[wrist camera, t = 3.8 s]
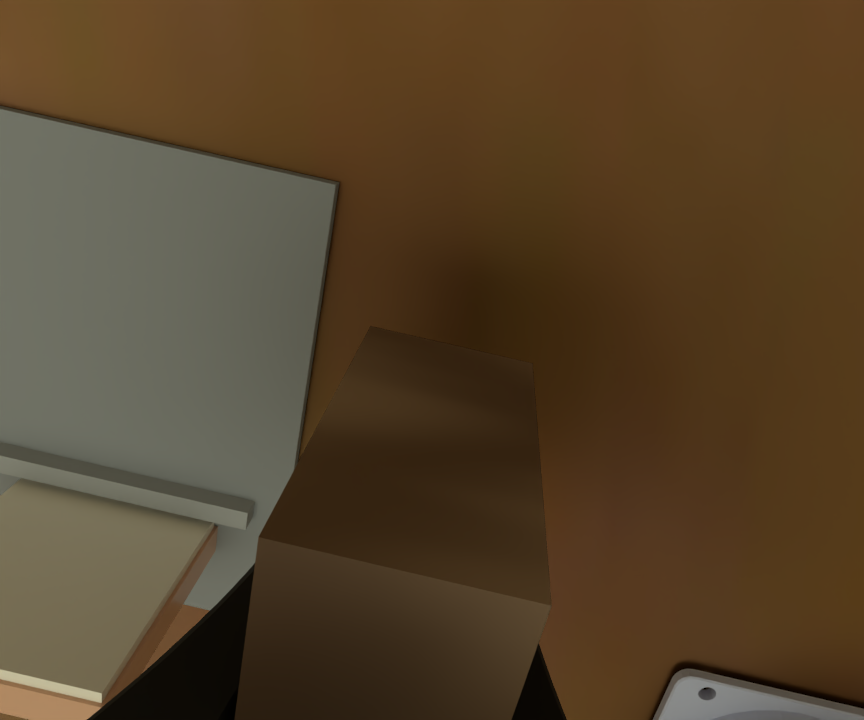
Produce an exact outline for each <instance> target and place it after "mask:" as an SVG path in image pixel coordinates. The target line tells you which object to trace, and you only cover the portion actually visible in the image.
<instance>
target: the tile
mask: <svg viewBox="0 0 864 720" xmlns="http://www.w3.org/2000/svg"><path fill="white" fill-rule="evenodd" d="M217 532H218V526H214V523H213V522H208V521H204V520H200V519H196V518H191V517H187V516H183V515H178V514H174V513H170V512H166V511H161V510H157V509H153V508H148V507H144V506H140V505H135V504H131V503H127V502H123V501H118V500H114V499H110V498H105V497H101V496H97V495H93V494H88V493H84V492H80V491H75V490H71V489H67V488H62V487H58V486H54V485H50V484H45V483H41V482H37V481H32V480H28V479H24V478H21V479H20V480H18V481H17V482H16V483H15V484H14V485H13V486H11V487H10V488H9V489H8V490H7V491H5V492H4V493H3V494H2V495H1V496H0V713H4V714H8V715H12V716H17V717H21V718H25V719H29V720H87V719H88V718H90V717H91V716H92V715H93V714H94V713H96V712H97V711H98V710H99V709H100V708H102V707H103V706H104V705H105V704H106V703H108V702H109V701H110V700H111V699H112V698H114V697H115V696H116V695H117V694H118V693H120V692H121V691H122V690H123V689H124V688H126V687H127V686H128V685H129V684H130V683H132V682H133V681H134V680H135V679H136V678H138V677H139V676H140V675H141V673H142V672H143V670H144V668H145V667H146V665H147V663H148V662H149V660H150V658H151V657H152V655H153V653H154V652H155V650H156V648H157V647H158V645H159V643H160V642H161V640H162V638H163V637H164V635H165V633H166V632H167V630H168V628H169V627H170V625H171V623H172V622H173V620H174V619H175V617H176V615H177V614H178V612H179V610H180V609H181V607H182V605H183V604H184V602H185V600H186V599H187V597H188V595H189V594H190V592H191V590H192V589H193V587H194V585H195V584H196V582H197V580H198V579H199V577H200V575H201V574H202V572H203V570H204V569H205V567H206V566H207V564H208V562H209V561H210V559H211V557H212V556H213V554H214V552H215V551H216V542H217Z"/></svg>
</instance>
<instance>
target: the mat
mask: <svg viewBox="0 0 864 720" xmlns="http://www.w3.org/2000/svg"><path fill="white" fill-rule="evenodd" d="M338 189H339V182H336V181H331V180H327V179H323V178H318V177H314V176H309V175H305V174H300V173H296V172H292V171H287V170H283V169H278V168H274V167H269V166H265V165H261V164H256V163H252V162H247V161H243V160H239V159H234V158H230V157H225V156H221V155H216V154H212V153H208V152H203V151H199V150H194V149H190V148H185V147H181V146H177V145H172V144H168V143H163V142H159V141H155V140H150V139H146V138H141V137H137V136H132V135H128V134H124V133H119V132H115V131H110V130H106V129H101V128H97V127H93V126H88V125H84V124H79V123H75V122H70V121H66V120H62V119H57V118H53V117H48V116H44V115H40V114H35V113H31V112H26V111H22V110H17V109H13V108H9V107H4V106H0V496H1V495H2V494H3V493H4V492H5V491H7V490H8V489H9V488H10V487H11V486H13V485H14V484H15V483H16V482H17V481H18V480H20V479H21V478H24V479H28V480H32V481H37V482H41V483H45V484H50V485H54V486H58V487H62V488H67V489H71V490H75V491H80V492H84V493H88V494H93V495H97V496H101V497H105V498H110V499H114V500H118V501H123V502H127V503H131V504H135V505H140V506H144V507H148V508H153V509H157V510H161V511H166V512H170V513H174V514H178V515H183V516H187V517H191V518H196V519H200V520H204V521H208V522H213V523H214V526H218V532H217V542H216V551H215V552H214V554H213V556H212V557H211V559H210V561H209V562H208V564H207V566H206V567H205V569H204V570H203V572H202V574H201V575H200V577H199V579H198V580H197V582H196V584H195V585H194V587H193V589H192V590H191V592H190V594H189V595H188V597H187V599H186V600H185V602H184V604H185V605H189V606H193V607H198V608H202V609H206V610H211V609H212V608H213V607H214V606H215V605H216V604H217V603H218V602H219V601H220V600H221V599H222V598H223V597H224V596H225V595H226V594H227V593H228V592H229V591H230V590H231V589H232V588H233V587H234V586H235V585H236V583H237V582H238V581H239V580H240V579H241V578H242V577H243V576H244V575H245V574H246V573H247V571H248V570H249V569H250V568H251V567H252V566H253V565H254V563H255V560H256V552H257V544H258V537H259V535H260V533H261V531H262V529H263V528H264V526H265V524H266V522H267V520H268V518H269V516H270V514H271V513H272V511H273V509H274V507H275V505H276V503H277V501H278V499H279V498H280V496H281V494H282V492H283V490H284V488H285V486H286V484H287V483H288V481H289V479H290V477H291V475H292V473H293V471H294V469H295V467H296V466H297V463H298V457H299V450H300V443H301V437H302V430H303V423H304V416H305V410H306V403H307V396H308V390H309V383H310V376H311V370H312V363H313V356H314V349H315V343H316V336H317V329H318V323H319V316H320V309H321V303H322V296H323V289H324V282H325V276H326V269H327V262H328V256H329V249H330V242H331V236H332V229H333V222H334V215H335V209H336V202H337V195H338Z"/></svg>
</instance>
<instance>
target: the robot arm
mask: <svg viewBox="0 0 864 720" xmlns="http://www.w3.org/2000/svg"><path fill="white" fill-rule="evenodd" d="M254 567H255V563H254V565H253V566H252V567H251V568H250V569H249V570H248V571H247V573H246V574H245V575H244V576H243V577H242V578H241V579H240V580H239V581H238V582H237V583H236V585H235V586H234V587H233V588H232V589H231V590H230V591H229V592H228V593H227V594H226V595H225V596H224V597H223V598H222V599H221V600H220V601H219V602H218V603H217V604H216V605H215V606H214V607H213V608H212V609H211V610H210V611H209V612H208V613H207V614H206V615H205V616H204V617H203V618H202V619H201V620H200V621H199V622H198V623H197V624H196V625H195V626H194V627H193V628H192V629H191V630H189V631H188V632H187V633H186V634H185V635H184V636H183V637H182V638H181V639H180V640H179V641H178V642H176V643H175V644H174V645H173V646H172V647H171V648H170V649H169V650H168V651H167V652H166V653H165V654H164V655H162V656H161V657H160V658H159V659H158V660H157V661H156V662H155V663H154V664H153V665H151V666H150V667H149V668H148V669H147V670H146V671H145V672H143V673H142V674H141V675H140V676H139V677H138V678H136V679H135V680H134V681H133V682H132V683H130V684H129V685H128V686H127V687H126V688H124V689H123V690H122V691H121V692H120V693H118V694H117V695H116V696H115V697H114V698H112V699H111V700H110V701H109V702H108V703H106V704H105V705H104V706H103V707H102V708H100V709H99V710H98V711H97V712H96V713H94V714H93V715H92V716H91V717H90V718H88V719H87V720H235V712H236V704H237V697H238V689H239V682H240V674H241V666H242V659H243V651H244V643H245V636H246V628H247V621H248V613H249V605H250V598H251V590H252V582H253V575H254ZM705 687H709V689H706V690H701V689H703V688H705ZM512 720H567V719H566V717H565V714H564V712H563V709H562V707H561V704H560V702H559V699H558V696H557V694H556V691H555V688H554V686H553V683H552V680H551V678H550V675H549V672H548V669H547V666H546V663H545V661H544V658H543V655H542V652H541V649H540V646H539V643H538V646H537V649H536V652H535V654H534V657H533V660H532V663H531V666H530V669H529V671H528V674H527V677H526V680H525V683H524V686H523V688H522V691H521V694H520V697H519V700H518V703H517V705H516V708H515V711H514V714H513V717H512ZM653 720H864V709H862V708H858V707H854V706H850V705H845V704H841V703H837V702H832V701H828V700H824V699H820V698H815V697H811V696H807V695H803V694H798V693H794V692H790V691H785V690H781V689H777V688H773V687H768V686H764V685H760V684H755V683H751V682H747V681H743V680H738V679H734V678H730V677H725V676H721V675H717V674H713V673H708V672H704V671H700V670H695V669H683V670H680V671H678V672H677V673H675V675H674V676H673V677H672V679H671V681H670V684H669V686H668V688H667V690H666V692H665V694H664V696H663V699H662V701H661V703H660V705H659V707H658V709H657V712H656V714H655V716H654V718H653Z"/></svg>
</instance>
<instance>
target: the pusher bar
mask: <svg viewBox="0 0 864 720" xmlns="http://www.w3.org/2000/svg"><path fill="white" fill-rule="evenodd" d="M551 606H552V605H551V592H550V579H549V566H548V554H547V541H546V528H545V515H544V503H543V490H542V477H541V465H540V452H539V439H538V426H537V414H536V401H535V388H534V376H533V363H529V362H525V361H520V360H516V359H512V358H507V357H503V356H499V355H494V354H490V353H486V352H481V351H477V350H472V349H468V348H464V347H459V346H455V345H451V344H446V343H442V342H438V341H433V340H429V339H425V338H420V337H416V336H412V335H407V334H403V333H398V332H394V331H390V330H385V329H381V328H377V327H372V326H371V327H370V328H369V330H368V332H367V334H366V336H365V338H364V340H363V342H362V343H361V345H360V347H359V349H358V351H357V353H356V355H355V357H354V358H353V360H352V362H351V364H350V366H349V368H348V370H347V372H346V374H345V375H344V377H343V379H342V381H341V383H340V385H339V387H338V389H337V390H336V392H335V394H334V396H333V398H332V400H331V402H330V404H329V405H328V407H327V409H326V411H325V413H324V415H323V417H322V419H321V420H320V422H319V424H318V426H317V428H316V430H315V432H314V434H313V436H312V437H311V439H310V441H309V443H308V445H307V447H306V449H305V451H304V452H303V454H302V456H301V458H300V460H299V462H298V464H297V466H296V467H295V469H294V471H293V473H292V475H291V477H290V479H289V481H288V483H287V484H286V486H285V488H284V490H283V492H282V494H281V496H280V498H279V499H278V501H277V503H276V505H275V507H274V509H273V511H272V513H271V514H270V516H269V518H268V520H267V522H266V524H265V526H264V528H263V529H262V531H261V533H260V535H259V537H258V544H257V552H256V560H255V567H254V575H253V582H252V590H251V598H250V605H249V613H248V621H247V628H246V636H245V643H244V651H243V659H242V666H241V674H240V682H239V689H238V697H237V704H236V712H235V720H512V717H513V714H514V711H515V708H516V705H517V703H518V700H519V697H520V694H521V691H522V688H523V686H524V683H525V680H526V677H527V674H528V671H529V669H530V666H531V663H532V660H533V657H534V654H535V652H536V649H537V646H538V643H539V640H540V637H541V634H542V632H543V629H544V626H545V623H546V620H547V617H548V615H549V612H550V609H551Z"/></svg>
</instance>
